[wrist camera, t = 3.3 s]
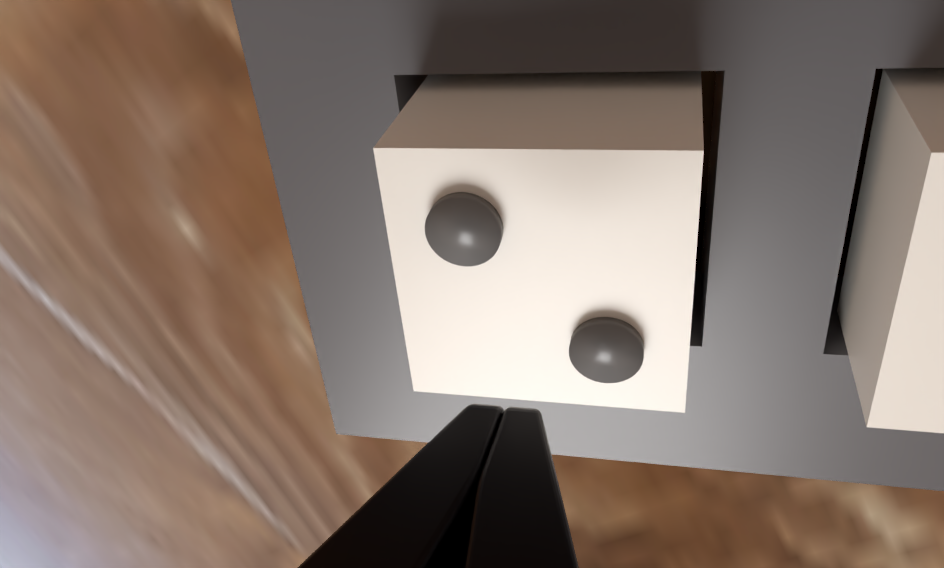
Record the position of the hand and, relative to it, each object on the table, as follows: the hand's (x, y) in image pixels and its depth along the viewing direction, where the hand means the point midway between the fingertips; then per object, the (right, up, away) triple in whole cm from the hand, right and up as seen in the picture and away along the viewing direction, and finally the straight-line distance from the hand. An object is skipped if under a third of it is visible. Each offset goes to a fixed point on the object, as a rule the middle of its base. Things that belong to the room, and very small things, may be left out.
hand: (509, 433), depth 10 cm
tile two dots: (+1, +3, +5) cm, 6 cm away
